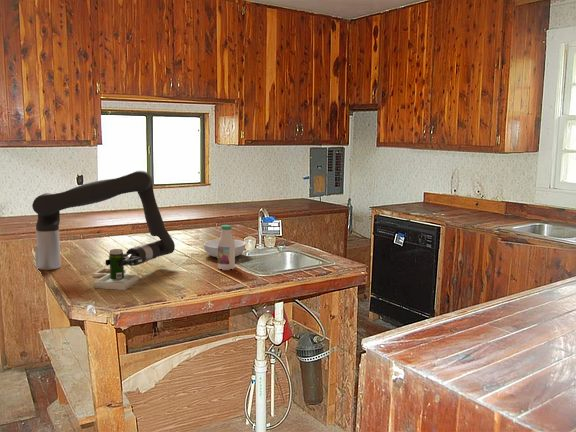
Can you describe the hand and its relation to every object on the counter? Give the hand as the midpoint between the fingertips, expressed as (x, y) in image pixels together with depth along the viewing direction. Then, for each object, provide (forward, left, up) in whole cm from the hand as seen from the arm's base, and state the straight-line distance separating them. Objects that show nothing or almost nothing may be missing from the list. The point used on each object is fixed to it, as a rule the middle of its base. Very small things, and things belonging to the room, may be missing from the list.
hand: (112, 263), depth 217 cm
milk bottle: (+37, +37, -9) cm, 53 cm away
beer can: (+1, +3, -7) cm, 8 cm away
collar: (-9, +15, -9) cm, 20 cm away
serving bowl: (+30, +60, -9) cm, 68 cm away
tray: (+1, +2, -9) cm, 9 cm away
